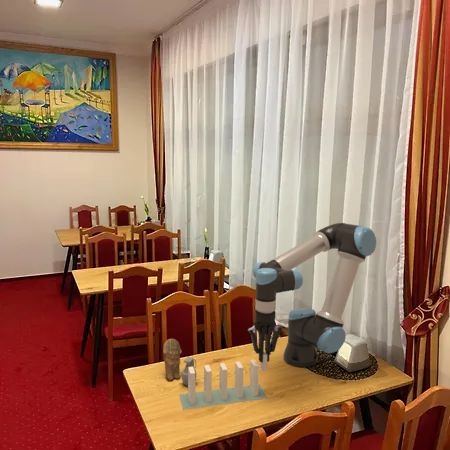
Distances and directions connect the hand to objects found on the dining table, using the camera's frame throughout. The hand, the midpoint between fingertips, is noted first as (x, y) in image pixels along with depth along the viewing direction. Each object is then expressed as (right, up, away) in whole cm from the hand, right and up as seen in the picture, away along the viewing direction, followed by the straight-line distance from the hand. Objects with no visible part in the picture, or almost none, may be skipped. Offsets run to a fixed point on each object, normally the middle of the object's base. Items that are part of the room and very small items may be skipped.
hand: (263, 369), depth 161 cm
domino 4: (-10, -9, -1) cm, 13 cm away
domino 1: (-27, -10, -5) cm, 29 cm away
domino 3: (-15, -9, -2) cm, 18 cm away
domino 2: (-21, -10, -4) cm, 23 cm away
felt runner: (-15, -10, -2) cm, 18 cm away
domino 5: (-4, -9, +1) cm, 10 cm away
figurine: (-36, -8, +13) cm, 39 cm away
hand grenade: (-29, -9, +7) cm, 31 cm away
